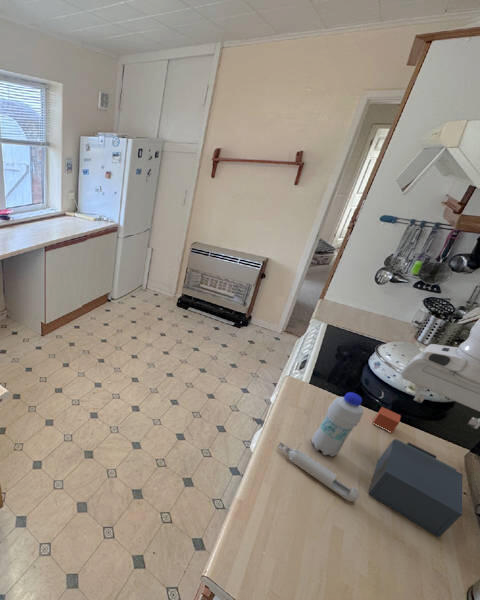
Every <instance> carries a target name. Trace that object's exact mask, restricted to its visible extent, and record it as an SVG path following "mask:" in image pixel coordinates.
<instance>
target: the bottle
mask: <svg viewBox="0 0 480 600" xmlns="http://www.w3.org/2000/svg"><path fill="white" fill-rule="evenodd" d="M362 402H363V399H362V397H361V396H360V395H359V394H357V393H355V392H353V391H352V392H351V391H349V392H347V393H345V394H344V396H337V397H336V398H335V399H334V400H333V401H332V402H331V403H330V404H329V406H328V408H327V413H326V415H325V417H324V418H323V420H322V421H321V424H320V425H319V427H318V429H317V430H316V431H315V432H314V434H313V435H312V438H311V444H312V445H313V446H314V449H315V450H316V451H321V454H322V455H323V456H327V455H328V456H330V457H335V456H336V455H338V454H339V452H340V451H341V449H342V448H343V446H344V443H345V442H346V440H347V439H348V437H349V435H350V433H352V431H353V429H354V428H355V427H357V426H358V424H359V423H360V422H361V419H362V418H363V417H362V416H363V414H364V408H363V407H362V405H361V404H362Z"/></svg>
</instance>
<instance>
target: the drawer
mask: <svg viewBox="0 0 480 600" xmlns="http://www.w3.org/2000/svg"><path fill="white" fill-rule="evenodd" d="M394 440H396V441H398V442H400V443H402V444H404V445H406V446H408V447H410V448H412V449H414V450H416V451H418V452H420V453H422V454H424V455H426V456H428V457H430V458H432V459H434V460H436V461H438V462H440V463H442V464H444V465H446V466H448V467H450V468H452V469H454V470H455V471H457V472H458V470H457V468H455V467H453V466H451V465H449V464H447V463H445V462H443V461H441V460H439V459H437V455H435V454H433V453H431V452H429V451H428V450H425V449H423V448H422V447H419V446H418V445H416V444H414V443H411V442H409V441H408V442H407V443H405V442H403V441H401V440H400V439H398V438H395V439H394Z"/></svg>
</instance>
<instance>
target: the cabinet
mask: <svg viewBox="0 0 480 600" xmlns="http://www.w3.org/2000/svg"><path fill="white" fill-rule="evenodd" d="M367 494H368V495H369V496H370V497H372V498H373V499H376V500H377V501H378V502H380V503H382V504H384V505H385V506H386V507H388V508H390V509H392V510H393V511H394V512H396V513H398V514H399V515H401V516H402V517H404V518H406V519H408V520H410V521H411V522H413V523H414V524H416V525H417V526H419V527H420V528H422V529H424V530H426V531H428V532H429V533H430V534H432V535H434V536H435V537H437V538H440V537H441V536H443V534H444V533H446V531H448V529H449V528H450V527H452V526H453V525H454V524H455V523H456V522H457V521H458V520H459V519H460V518H461V517H462V516H463V473H461V472H459V471H458V470H457V471H455V470H454V469H452V468H450V467H448V466H446V465H444V464H442V463H440V462H438V461H436V460H434V459H432V458H430V457H428V456H426V455H424V454H422V453H420V452H418V451H416V450H414V449H412V448H410V447H408V446H406V445H404V444H402V443H400V442H398V441H396V440H395V439H393V440H392V441H391V442H390V443H389V444H388V446H387V447H386V448H385V450H384V451H383V453H382V455H381V456H380V457H379V459H377V462H376V465H375V469H374V472H373V476H372V479H371V483H370V485H369V489H368V493H367Z"/></svg>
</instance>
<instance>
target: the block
mask: <svg viewBox="0 0 480 600" xmlns="http://www.w3.org/2000/svg"><path fill="white" fill-rule="evenodd" d="M375 416H376V417H375ZM375 416H374V418H375V420H374V419H373V421H374V423H375V424H377V425H379V426H381V427H383V428H385V429H387V430H389V431H391V432H392V433H393V432H394V431H395V429H396V428H397V427H398V425H399V424H400V421H401V418H402V415H401V414H399V413H397V412H394V411H392V410H390V409H388V408H386V407H383V406H381V407H380V409H379V410H378V412H377V413H376V415H375Z"/></svg>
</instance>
